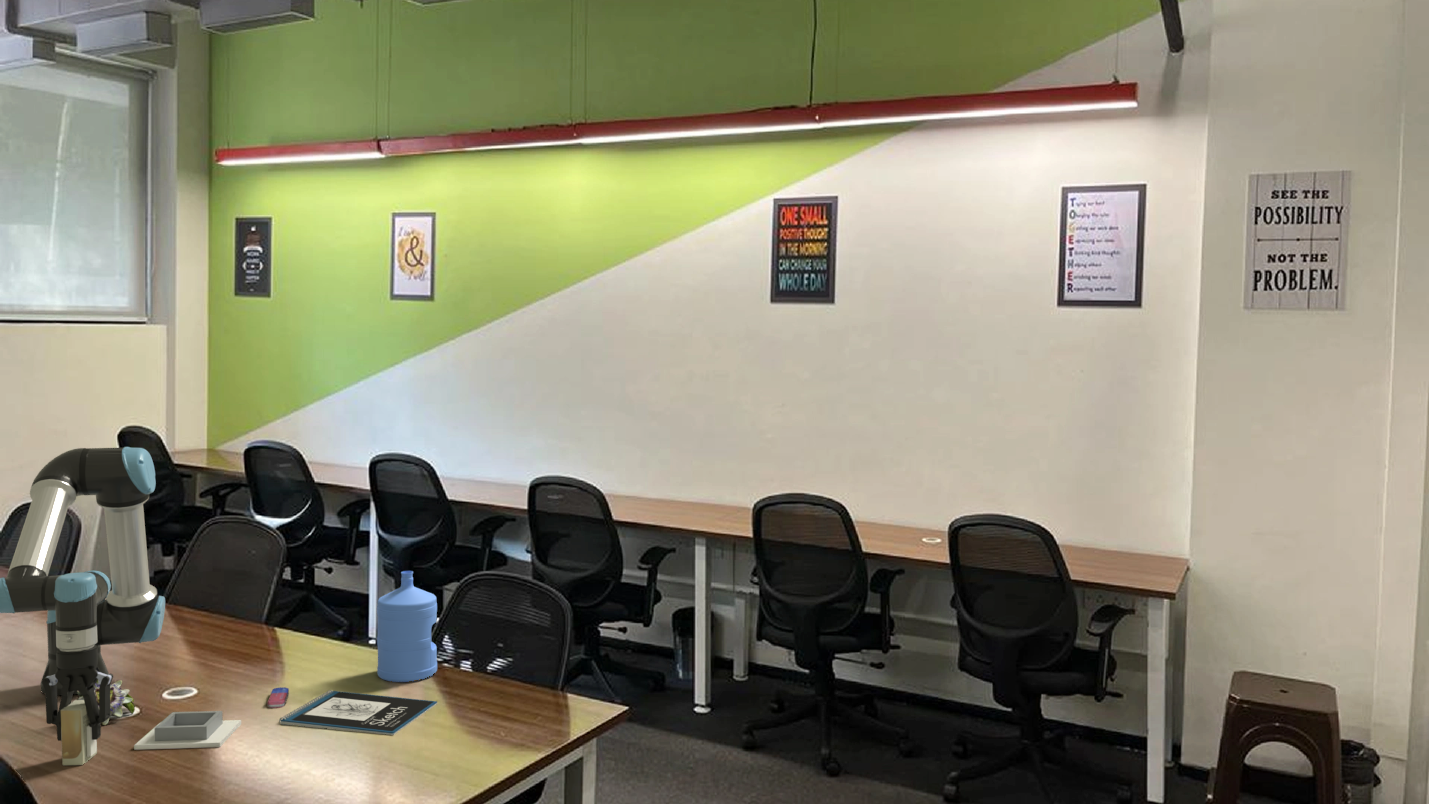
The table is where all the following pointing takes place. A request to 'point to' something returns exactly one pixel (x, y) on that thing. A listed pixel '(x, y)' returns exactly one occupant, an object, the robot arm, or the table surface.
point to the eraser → (278, 697)
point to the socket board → (189, 731)
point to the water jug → (406, 633)
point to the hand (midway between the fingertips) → (79, 754)
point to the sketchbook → (358, 712)
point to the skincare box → (74, 733)
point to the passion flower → (115, 699)
